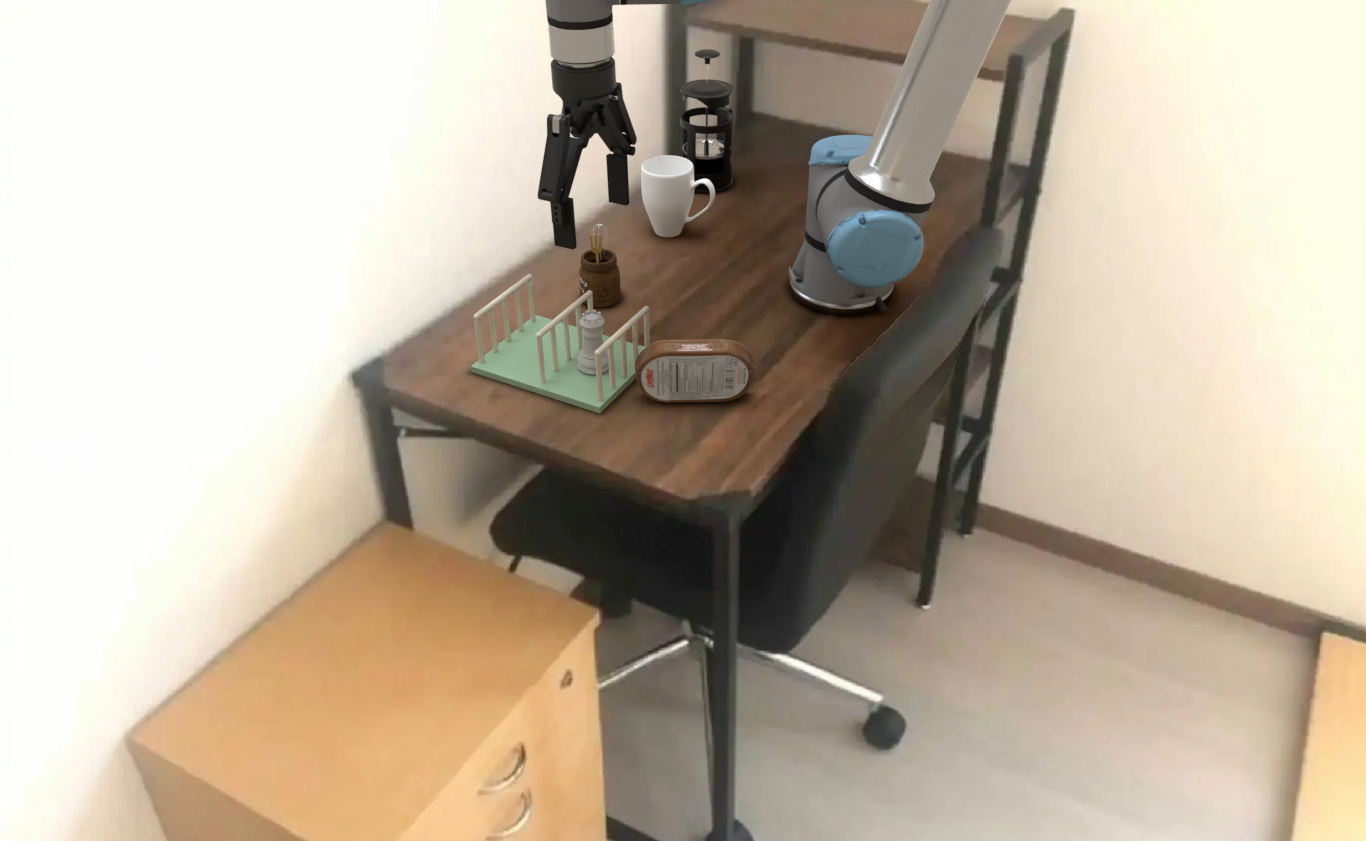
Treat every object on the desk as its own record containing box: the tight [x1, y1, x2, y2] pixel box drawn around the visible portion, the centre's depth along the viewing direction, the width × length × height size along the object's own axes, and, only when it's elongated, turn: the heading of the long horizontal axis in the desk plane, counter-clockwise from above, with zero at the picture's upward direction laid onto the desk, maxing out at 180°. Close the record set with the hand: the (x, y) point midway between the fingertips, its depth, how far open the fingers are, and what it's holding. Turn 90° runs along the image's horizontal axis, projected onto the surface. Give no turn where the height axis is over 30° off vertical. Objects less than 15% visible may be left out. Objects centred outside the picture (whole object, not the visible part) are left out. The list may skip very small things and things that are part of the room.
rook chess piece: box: [578, 309, 609, 375], centre depth 145 cm, size 4×4×8 cm
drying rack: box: [470, 273, 651, 415], centre depth 148 cm, size 20×15×8 cm
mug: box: [640, 154, 716, 238], centre depth 178 cm, size 12×8×11 cm
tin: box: [635, 338, 755, 404], centre depth 141 cm, size 15×3×8 cm, turn 92°
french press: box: [679, 48, 735, 195], centre depth 191 cm, size 12×9×23 cm
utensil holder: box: [578, 223, 621, 309], centre depth 161 cm, size 6×6×12 cm
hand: (593, 224), depth 143 cm, fingers open, 13 cm apart
